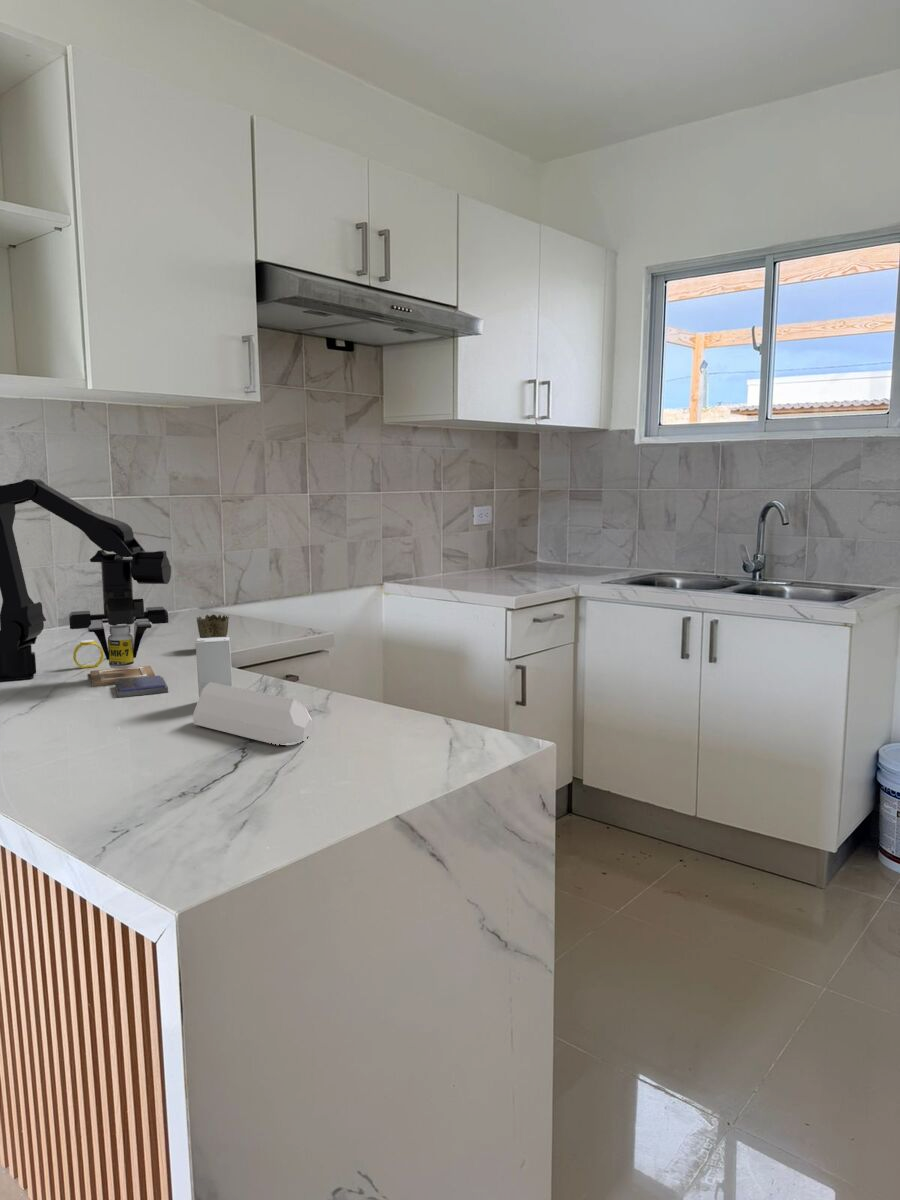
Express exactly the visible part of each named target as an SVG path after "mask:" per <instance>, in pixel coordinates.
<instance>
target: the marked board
mask: <svg viewBox="0 0 900 1200" xmlns="http://www.w3.org/2000/svg"><path fill="white" fill-rule="evenodd" d="M89 672H90V673H89V674H90V678H91V684H92V687H101V686H111V685H112V686H113V685H115V682H117V681H118V679H129V678H139V677H150V676H156V674H155V672H154V670H153V668H152V666H151V665H143V666H131V667H128V668H108V669H96V670H89Z"/></svg>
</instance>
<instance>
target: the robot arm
mask: <svg viewBox="0 0 900 1200" xmlns="http://www.w3.org/2000/svg"><path fill="white" fill-rule="evenodd" d="M30 501H32V503H35V504H36V505H38V506H40V507H41V508H43V509H45V510H47V511H48V512H50V513H52V514H53V515H55V516H57V517H59V518H61V519H62V520H64V521H65V522H67V523H70V525H73V526H74V527H76V528H77V529H79V530H80V531H82V532H83V533H84V534H85V536H86V537H87V538H88V539H89V540H90V542H92V543H94V544H95V545H96V546H97V547H98V548H100V549H99V550H97V551H96V553H95V554H94V555H93V556H92V557H91V558H89V562H90V563H100V566H101V586H102V600H103V601H102V603H103V605H102V606H103V613H96V614H94V613H93V614H91V610H78V611H76V610H75V611H71V612H70V613H69V614H68V620H69V621H68V622H69V629H70V630H78V629H87V630H88V633H94V635H95V636H96V638H97V640H98V641H99V644H100V647H101V648H102V650H103V654H104V657H105V658H106V660H107V661H109V650H108V641H107V638H106V632H105V628H104V625H103V624H104V623H105V624H106V623H108V625H109V626H115V625H129V626H131V625H133V624H134V625H133V657H134V659H136V658H137V656H138V655H137V654H138V651H139V648H140V645H141V641H142V639H143V636H144V633H145V632H146V630H147V629H151V628H152V626H153V625H160V624H169V613H168V611H167V609H166V608H165V607H164V606H149V607H148V606H147V607H145V606H144V605H145V604H144V599H143V598H134V593H133V592H134V590H133V589H134V588H133V581H136V582H137V584H139V585H168V584H169V583H170V580H171V577H172V576H171V575H172V565H171V564H170V560H169V558H168V556H167V555H168V554H167V550H157V551H146V550H145V549H144V548H143V546H142V545H141V544H140V543H139V542H138V540H137V539H136V538H135V536H134V531H133V528H132V527H131V525H129V524H128V523H126V522H124V521H120V520H118V519H116V518H113V517H110V516H106V515H103V514H100V513H97V512H94V511H92V510H90V509H89V508H87V507H86V506H84V505H82V504H80V503H78V502H77V501H75V500H73V499H72V498H70V497H68V496H66V495H64V493H61V492H59V491H58V490H56V489H55V488H52V486H49V485H48V484H46V483H45V482H44V481H43V480H41V479H38V478H37V479H36V478H34V479H32V478H31V479H29V478H28V479H27V478H26V479H24V480H22V481H18V482H13V483H9V484H3V485H2V484H0V594H1V598H2V602H1V603H2V604H1V608H0V682H4V681H16V680H27V679H34V677H35V675H36V674H37V663H36V660H37V659H36V652H34V651H33V649H32V646H33V645H35V644H36V641H37V639H38V636H39V635H41V633H42V632H43V630H44V628H45V625H44V624H45V623H44V622H46V621H47V619H46V617H45V615H44V613H43V612H44V611H43V604H42V602H41V601H39V602H34V601H33V600H32V598H31V597H30V596H29V593H28V588H27V583H26V581H25V580H26V579H25V576H24V572H23V567H22V563H21V560H20V555H19V551H18V547H17V541H16V538H15V533H14V529H13V527H14V523H15V522H14V521H15V517H16V505H19V504H25V503H27V502H30ZM152 624H153V625H152Z"/></svg>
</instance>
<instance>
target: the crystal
mask: <svg viewBox="0 0 900 1200" xmlns="http://www.w3.org/2000/svg"><path fill="white" fill-rule="evenodd" d="M232 686H233V685H232ZM232 686H227V685H222V684H217V683H213V682H210V683H208V684H207V685H206V686H205V687H204V688H203V690H202V692H201V695H200V698H199V697H198V700H197V703H196V706H195V708H194V710H193V714H192V718H193V719H192V720H193V725H196V726H200V727H204V728H207V729H211V730H216V731H219V732H220V731H221V732H224V733H227V734H231V735H235V736H240V737H242V738H247V739H251V740H255V741H259V742H264V743H266V744H271V743H272V744H271V745H275V744H276V745H275V746H279V744H286V743H292V742H298V741H302V740H304V739H305V738H306V737H307V736H308V735H309V734H310V733H311V734H312V732H313V731H312V730H313V721H314V720H313V719H312V717H311V715H310V713H309V711H308V710H307V707H306V706H304V704H302V703H300V702H299V701H298V700H296V699H293V698H289V697H286V696H285V697H284V696H279V695H275V694H272V693H271V694H269V693H267V692H266V693H265V692H260V691H255V690H251V689H246V688H241V687H236V686H233V687H232ZM224 717H225V718H224ZM245 722H246V723H245ZM249 723H250V724H249ZM266 727H267V728H266ZM270 728H271V729H270ZM274 729H275V730H274ZM311 734H310V735H311Z"/></svg>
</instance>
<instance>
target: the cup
mask: <svg viewBox="0 0 900 1200" xmlns="http://www.w3.org/2000/svg"><path fill="white" fill-rule="evenodd" d="M229 619H230V617H229V615H225V614H223V616H222V615H221V614H219V615H218V616H217V615H216V614H212V615H209V614H206V615H205V617H204V618H202V616H199V617H198V616H197V617H196V623H197V630H198V635H199V638H215V637H228V629H229Z"/></svg>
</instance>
